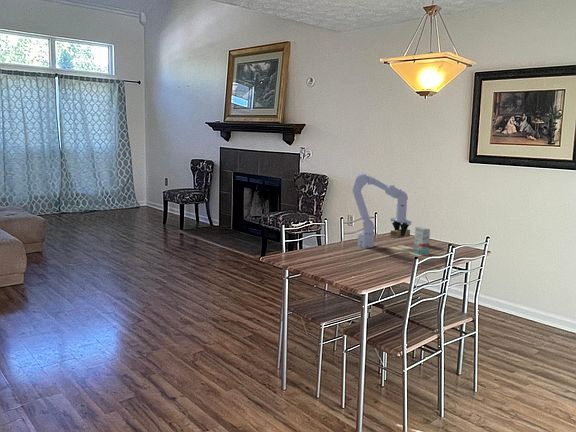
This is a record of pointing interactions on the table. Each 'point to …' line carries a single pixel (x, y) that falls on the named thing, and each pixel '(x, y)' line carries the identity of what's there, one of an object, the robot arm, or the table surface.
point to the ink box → (422, 236)
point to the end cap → (421, 251)
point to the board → (406, 249)
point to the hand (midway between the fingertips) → (400, 234)
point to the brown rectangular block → (399, 234)
